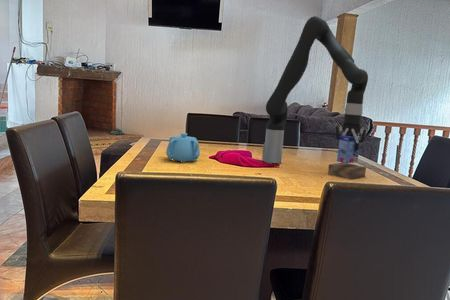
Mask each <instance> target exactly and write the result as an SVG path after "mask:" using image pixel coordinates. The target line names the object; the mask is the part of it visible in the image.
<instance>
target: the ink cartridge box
mask: <svg viewBox="0 0 450 300" xmlns="http://www.w3.org/2000/svg"><path fill="white" fill-rule="evenodd" d="M351 133H352V132H351ZM351 133H350V135H351ZM350 135H349V136H347V135H343V134H342V135H340V140H338V150H337V158H336V162H338V163H348V164H354V163H358V160H359V154H360V148H361V146H360V147H359V150H358V151H357V152H356V151H355V144H356V140H355V138H354V136H350ZM361 137H362V136H359V138H360V140H361Z"/></svg>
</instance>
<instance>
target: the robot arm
mask: <svg viewBox="0 0 450 300" xmlns="http://www.w3.org/2000/svg"><path fill="white" fill-rule="evenodd" d="M315 41H318V42H319V43H320V44H321V45H322V46H324V48H325V49H326V50H327V52H328V54H329V56H330V57H331V59H332V60H333V62H334V63H335V64H336V66H337V67H338V68H339V69H340V70H341V73H342V74H343V76H344V78H345V79H346V80H347V82H348V83H349V84H351V87H350V90H348V92H347V95H346V101H345V102H346V103H345V107H344V116H343V117H344V118H343V122H342V123H343V124H342V126H339V125H337V126H336V127H335V139H336V140H338V141H339V140H340V136H341V131H343V133H342V135H347V136H349V135H350V133H351V132H352V133H351V135H350V136H354V138H355V140H356V144H355V151H356V152H357V151H358V150H359V151H360V148H361V143H365V140H366V137H367V133H368V129H367V128H362V126H361V125H362V117H363V116H362V115H363V103H364V94H365V91H366V89H367V85H368V81H369V75H368V73H367V70H365V69H362V68H359V67H358V66H357V65H356V63H355V60H354V58H353V57H352V55H351V54H350V53H349V51H347V49H346V48H345V47H344V46H343V45H342V44H341V43H340V41H338V39H337V38H336V36H335V35H334V33H333V31H332V30H331V28H330V26H329V24H328V23H327V21H326V20H324V19H323V18H321V17H320V16H316V15H313V16H311V17H310V18H308V19H307V21H306V22H305V24H304V27H303V28H302V32H301V34H300V37H299V39H298V42H297V44H296V45H295V47H294V50H293V52H292V54H291V56H290V58H289V60H288V62H287V64H286V66H285V67H284V69H283V73H282V75H281V77H280V78H279V80H278V83H277V86H276V87H275V89H274V91H273V92H272V94H271V95H270V97H269V99H268V100H267V102H266V105H265V111H266V113H267V114H268V115H269V120H268V121H267V123H266V126H265V138H264V139H265V140H264V143H263V146H262V157H261V162H263V161H266V162H268V163H267V164H272V163H278V164H277V165H279V164H282V159H283V148H284V135H285V127H286V124H287V119H288V111H289V110H288V102H287V98H288V97H289V95H290V93H291V92H292V90H293V89H294V88H295V86H296V85H298V83H299V82H300V80H301V79H302V78H303V75H304V74H305V71H306V70H307V68H308V65H309V58H310V52H311V50H312V46H313V44H314V43H315ZM360 132H361V136H360V135H359V133H360ZM359 137H361V140H360V138H359ZM359 147H360V148H359ZM266 162H265V163H266Z"/></svg>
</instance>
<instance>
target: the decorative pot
mask: <svg viewBox="0 0 450 300" xmlns="http://www.w3.org/2000/svg"><path fill="white" fill-rule="evenodd" d="M199 145H200V144H199V141H198V139H197V138H196V136H195V137H194V136H188V133H186V132H181V133H180V135H177V136H174V135H173V136H170V138H169V140H168V145H167V147H166V151H165V153H166V157H167V159H169V160H171V159H173V160H176V161H182V162H195V160H196V161H197V160H198V159H199V157H200V155H201V150H200V147H199Z"/></svg>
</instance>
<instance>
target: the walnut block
mask: <svg viewBox="0 0 450 300" xmlns="http://www.w3.org/2000/svg"><path fill="white" fill-rule="evenodd" d="M366 169H367V167H366V166H364V165H363V166H361V165H357V164H354V163H342V162H338V163H337V162H336V163H331V164H328V170H327V175H330V176H333V177H337V178H342V179H347V180H357V179H361V178H365V177H366V171H367V170H366Z"/></svg>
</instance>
